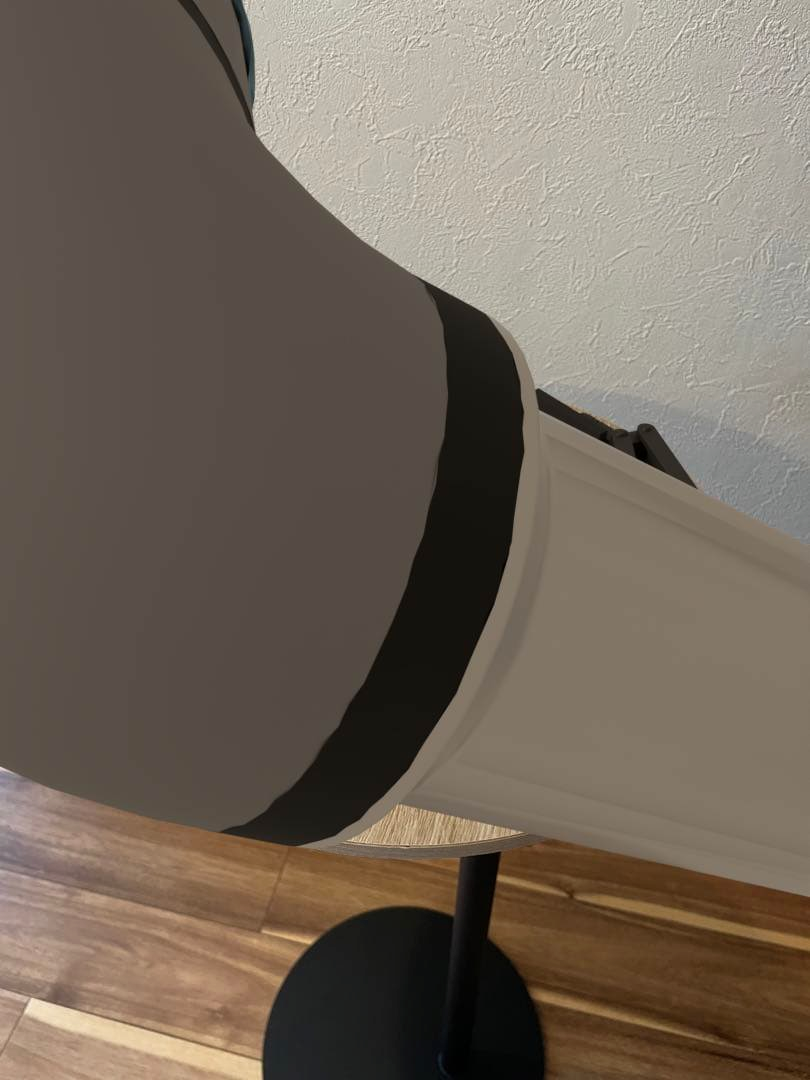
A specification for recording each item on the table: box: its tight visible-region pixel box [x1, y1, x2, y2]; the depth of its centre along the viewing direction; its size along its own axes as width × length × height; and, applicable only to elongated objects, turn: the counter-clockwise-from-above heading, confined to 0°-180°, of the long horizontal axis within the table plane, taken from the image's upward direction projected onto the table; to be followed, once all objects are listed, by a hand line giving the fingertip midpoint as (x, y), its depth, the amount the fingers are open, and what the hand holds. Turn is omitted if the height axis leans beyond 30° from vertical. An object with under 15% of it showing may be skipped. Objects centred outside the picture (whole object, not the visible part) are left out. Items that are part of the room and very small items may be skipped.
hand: (460, 440), depth 65 cm, fingers open, 13 cm apart
